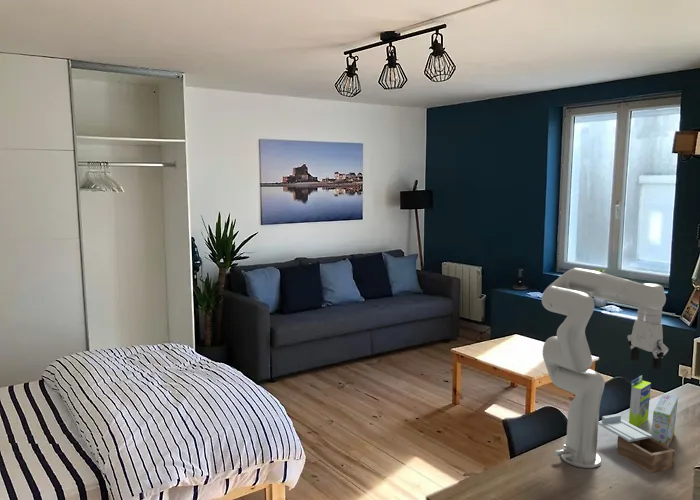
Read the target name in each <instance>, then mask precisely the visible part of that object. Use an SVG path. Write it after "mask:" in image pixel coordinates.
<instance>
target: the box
mask: <svg viewBox="0 0 700 500" xmlns="http://www.w3.org/2000/svg"><path fill="white" fill-rule="evenodd" d="M630 388H631V389H630V390H631V391H630V402H629V403H630V404H629V417H628V423H630V424H632V425H634V426H636V427H638V428H639V427H640V426H641V425H643V424H644V423H645V422H646V421H648V420H649V412H650V400H651V399H650V398H651V388H652V382H649V381H646V380H643V375H639V376H638V377H636V378H635V379H632V380H631V387H630Z"/></svg>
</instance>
